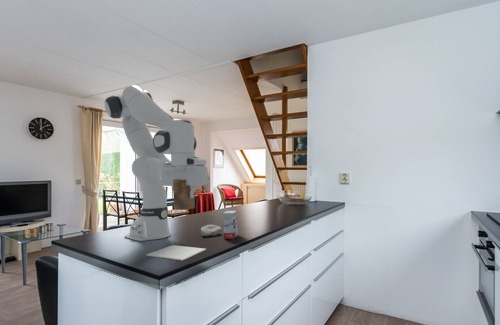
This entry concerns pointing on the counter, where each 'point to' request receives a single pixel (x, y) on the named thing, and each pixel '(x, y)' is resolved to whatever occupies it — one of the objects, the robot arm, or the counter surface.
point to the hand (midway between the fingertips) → (184, 197)
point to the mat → (176, 252)
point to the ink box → (230, 224)
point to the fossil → (210, 230)
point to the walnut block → (182, 195)
